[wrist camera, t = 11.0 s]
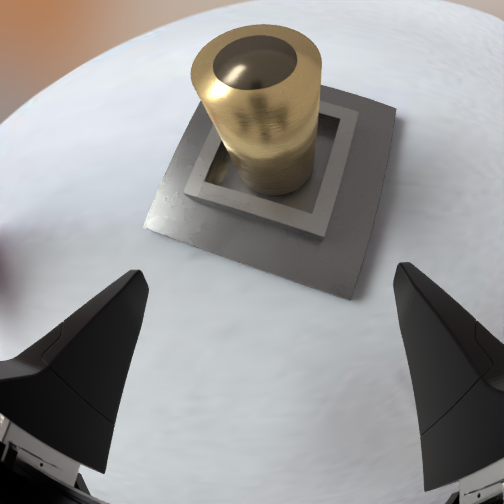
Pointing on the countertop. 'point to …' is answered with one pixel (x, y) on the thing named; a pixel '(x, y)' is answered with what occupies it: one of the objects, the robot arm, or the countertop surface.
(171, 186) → the flange plate
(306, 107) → the brass cylinder
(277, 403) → the countertop surface
